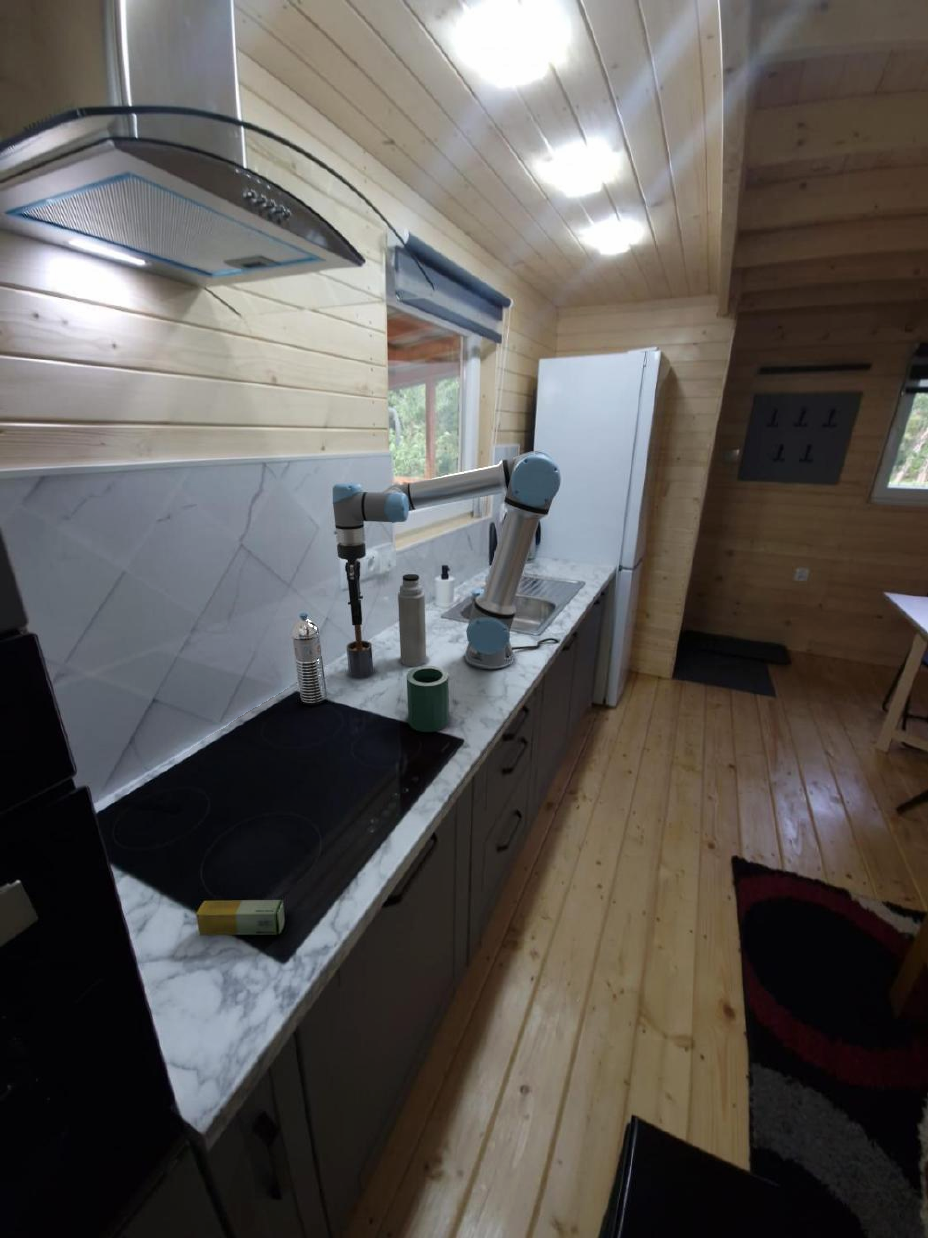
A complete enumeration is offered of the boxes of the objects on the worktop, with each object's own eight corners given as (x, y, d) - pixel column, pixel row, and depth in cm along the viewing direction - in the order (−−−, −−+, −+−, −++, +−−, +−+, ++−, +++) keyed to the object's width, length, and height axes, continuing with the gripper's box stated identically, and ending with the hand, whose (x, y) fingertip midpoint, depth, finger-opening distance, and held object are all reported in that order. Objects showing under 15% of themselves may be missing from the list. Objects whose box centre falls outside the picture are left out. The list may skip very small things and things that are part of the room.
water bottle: (319, 708, 131) (309, 620, 121) (296, 705, 132) (283, 618, 122) (331, 694, 137) (322, 610, 127) (308, 692, 138) (297, 608, 128)
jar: (446, 708, 131) (445, 664, 126) (450, 730, 122) (450, 684, 117) (407, 711, 130) (405, 667, 125) (409, 733, 120) (407, 687, 115)
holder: (373, 666, 153) (371, 639, 149) (373, 677, 146) (371, 650, 142) (349, 667, 152) (347, 641, 148) (348, 679, 145) (345, 651, 141)
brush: (367, 667, 150) (361, 589, 141) (367, 672, 147) (361, 593, 138) (355, 667, 150) (348, 589, 140) (354, 673, 147) (347, 593, 137)
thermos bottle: (398, 656, 159) (394, 573, 148) (422, 653, 161) (420, 570, 150) (403, 667, 152) (399, 580, 141) (428, 664, 154) (427, 578, 144)
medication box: (286, 919, 76) (284, 898, 75) (280, 935, 73) (278, 914, 72) (206, 920, 75) (203, 899, 74) (197, 936, 73) (194, 914, 72)
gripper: (339, 536, 140) (345, 614, 149) (334, 549, 126) (342, 633, 135) (366, 536, 141) (371, 612, 150) (364, 549, 127) (369, 632, 136)
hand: (357, 622), depth 143 cm, fingers closed on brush, 2 cm apart
